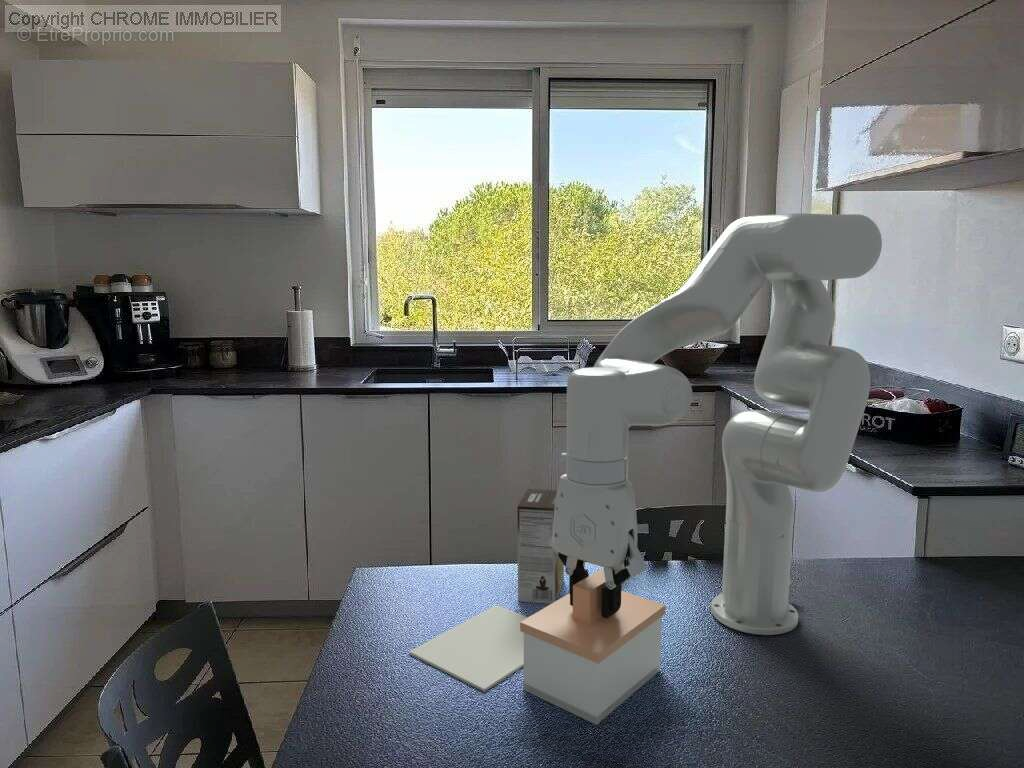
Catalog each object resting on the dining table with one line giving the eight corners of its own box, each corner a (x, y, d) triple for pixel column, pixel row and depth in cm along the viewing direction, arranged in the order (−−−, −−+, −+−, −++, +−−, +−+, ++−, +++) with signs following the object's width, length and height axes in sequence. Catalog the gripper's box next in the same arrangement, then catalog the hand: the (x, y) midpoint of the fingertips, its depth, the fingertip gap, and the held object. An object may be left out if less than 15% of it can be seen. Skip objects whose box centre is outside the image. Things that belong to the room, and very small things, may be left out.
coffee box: (527, 577, 125) (527, 487, 122) (564, 581, 124) (565, 489, 121) (516, 602, 116) (516, 505, 114) (556, 605, 115) (557, 507, 112)
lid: (590, 598, 103) (591, 550, 102) (664, 624, 96) (666, 572, 95) (520, 642, 91) (520, 588, 90) (598, 675, 84) (599, 617, 83)
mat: (495, 607, 115) (495, 604, 114) (568, 636, 106) (568, 633, 106) (409, 653, 101) (409, 651, 101) (484, 691, 92) (484, 689, 92)
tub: (590, 642, 104) (591, 589, 102) (660, 670, 97) (661, 613, 95) (523, 689, 92) (523, 631, 91) (596, 724, 85) (597, 661, 84)
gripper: (524, 463, 92) (524, 599, 95) (640, 489, 82) (636, 641, 85) (560, 451, 98) (559, 580, 101) (673, 474, 87) (668, 617, 90)
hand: (594, 606), depth 93 cm, fingers open, 4 cm apart
